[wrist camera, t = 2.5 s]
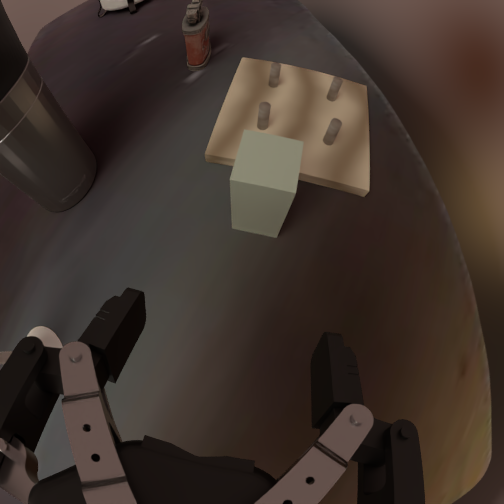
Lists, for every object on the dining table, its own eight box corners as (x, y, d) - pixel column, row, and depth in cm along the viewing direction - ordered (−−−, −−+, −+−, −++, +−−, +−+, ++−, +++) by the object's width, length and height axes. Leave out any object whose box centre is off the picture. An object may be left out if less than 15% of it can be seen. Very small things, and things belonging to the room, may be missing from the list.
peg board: (206, 161, 30) (201, 134, 26) (242, 64, 35) (243, 38, 30) (364, 196, 30) (382, 175, 25) (363, 92, 35) (374, 69, 30)
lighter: (207, 70, 34) (202, 14, 25) (183, 71, 34) (175, 16, 25) (213, 42, 36) (211, -7, 27) (192, 43, 36) (187, -6, 27)
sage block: (276, 237, 29) (295, 193, 19) (232, 228, 29) (229, 179, 19) (284, 197, 30) (303, 141, 20) (241, 188, 30) (244, 129, 20)
